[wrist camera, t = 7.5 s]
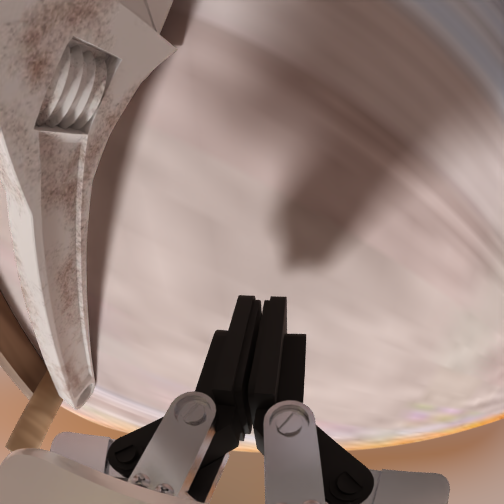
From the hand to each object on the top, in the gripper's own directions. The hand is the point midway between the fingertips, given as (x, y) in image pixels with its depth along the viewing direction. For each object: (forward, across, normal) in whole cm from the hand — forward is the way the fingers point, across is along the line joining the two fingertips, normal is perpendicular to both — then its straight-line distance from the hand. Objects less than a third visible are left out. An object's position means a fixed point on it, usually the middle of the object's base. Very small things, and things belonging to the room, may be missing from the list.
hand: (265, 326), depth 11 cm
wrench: (+2, +8, -2) cm, 9 cm away
